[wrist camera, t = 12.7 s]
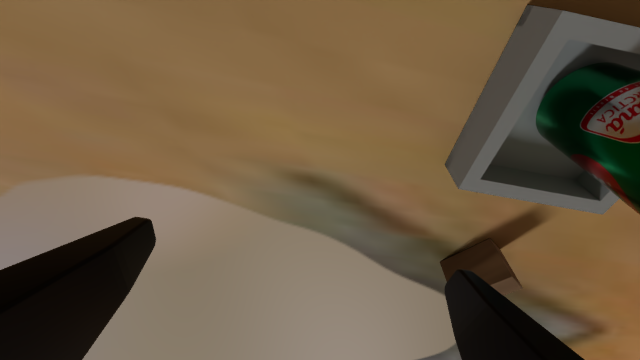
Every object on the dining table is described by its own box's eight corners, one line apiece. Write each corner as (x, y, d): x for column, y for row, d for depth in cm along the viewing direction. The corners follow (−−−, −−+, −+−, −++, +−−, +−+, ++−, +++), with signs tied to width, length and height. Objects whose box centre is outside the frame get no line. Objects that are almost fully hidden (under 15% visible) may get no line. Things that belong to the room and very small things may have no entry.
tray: (444, 164, 21) (458, 188, 19) (527, 4, 15) (562, 10, 13) (573, 188, 22) (602, 214, 20) (701, 43, 16) (766, 56, 14)
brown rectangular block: (439, 262, 28) (453, 300, 25) (489, 238, 26) (512, 276, 22) (450, 271, 29) (465, 309, 25) (500, 249, 26) (522, 288, 23)
